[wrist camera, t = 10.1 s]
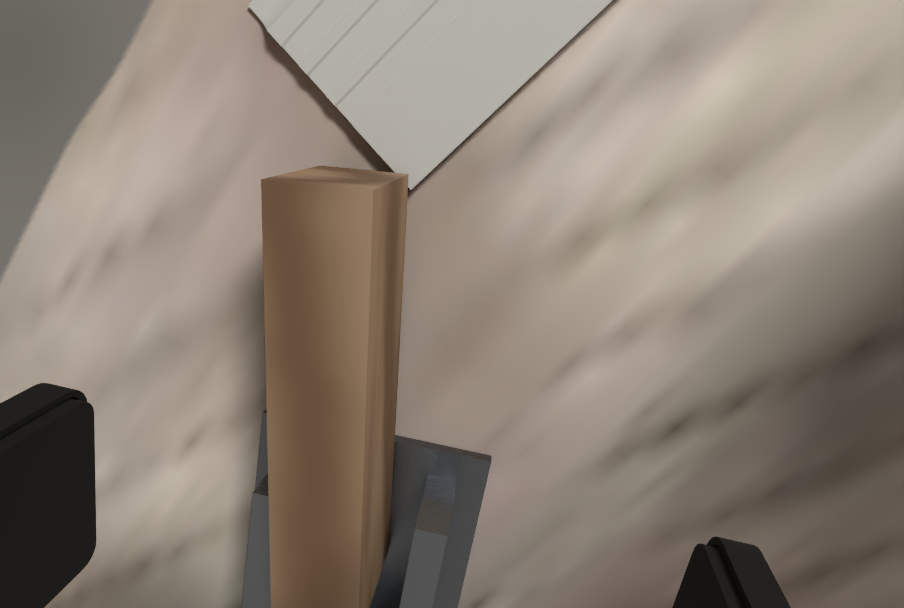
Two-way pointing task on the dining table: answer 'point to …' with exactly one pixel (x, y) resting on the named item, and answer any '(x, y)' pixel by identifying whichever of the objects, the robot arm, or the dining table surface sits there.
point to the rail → (331, 378)
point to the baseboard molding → (421, 63)
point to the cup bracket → (398, 526)
